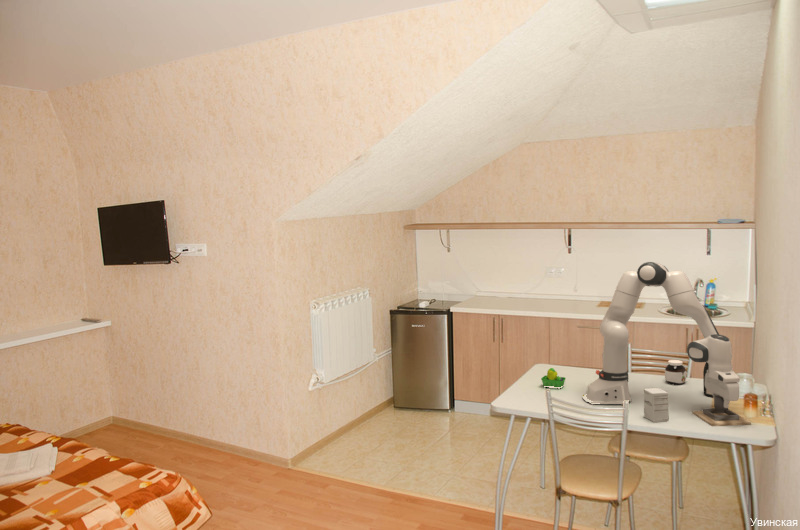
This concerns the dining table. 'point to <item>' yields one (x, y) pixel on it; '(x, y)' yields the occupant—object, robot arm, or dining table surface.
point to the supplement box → (656, 405)
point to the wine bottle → (706, 391)
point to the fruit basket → (553, 379)
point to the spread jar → (675, 372)
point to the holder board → (720, 417)
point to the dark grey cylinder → (719, 403)
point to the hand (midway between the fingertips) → (721, 405)
